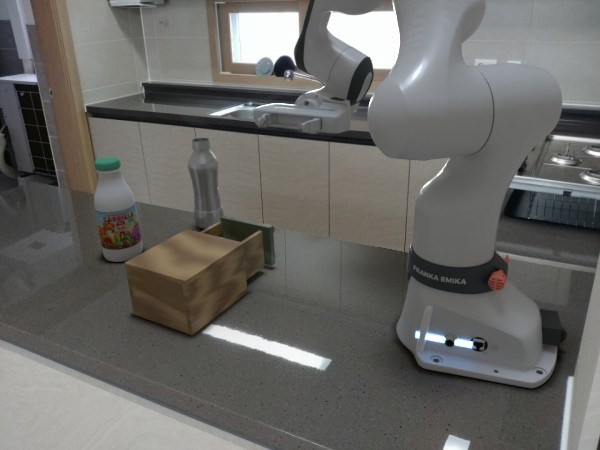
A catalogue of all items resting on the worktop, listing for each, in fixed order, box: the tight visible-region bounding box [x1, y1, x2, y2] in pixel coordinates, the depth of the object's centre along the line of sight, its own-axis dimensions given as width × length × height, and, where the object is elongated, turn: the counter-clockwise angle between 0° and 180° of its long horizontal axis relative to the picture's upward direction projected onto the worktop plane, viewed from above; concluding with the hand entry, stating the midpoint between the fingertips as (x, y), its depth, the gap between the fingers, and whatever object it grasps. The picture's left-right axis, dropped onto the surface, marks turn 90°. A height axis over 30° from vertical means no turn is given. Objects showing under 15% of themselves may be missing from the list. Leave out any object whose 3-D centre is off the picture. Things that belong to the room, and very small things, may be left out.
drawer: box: [199, 214, 276, 281], centre depth 99 cm, size 18×11×8 cm, turn 150°
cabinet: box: [124, 228, 248, 336], centre depth 89 cm, size 15×13×10 cm
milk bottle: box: [93, 156, 144, 263], centre depth 105 cm, size 8×8×20 cm
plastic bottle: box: [187, 137, 225, 230], centre depth 117 cm, size 6×7×20 cm
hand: (280, 125), depth 105 cm, fingers open, 8 cm apart
